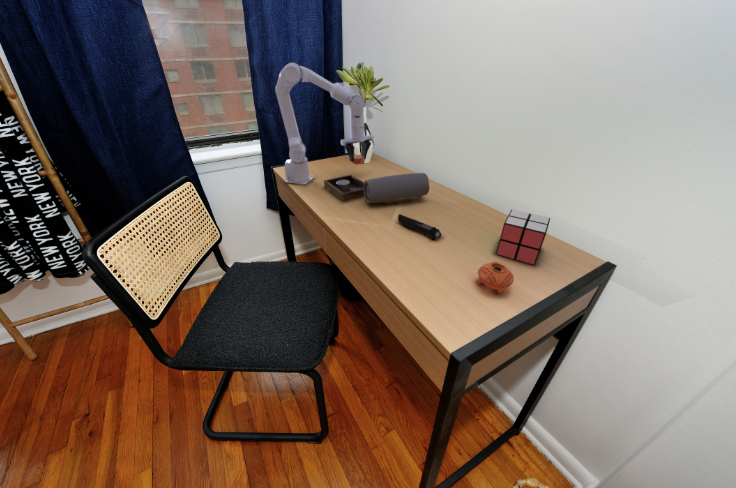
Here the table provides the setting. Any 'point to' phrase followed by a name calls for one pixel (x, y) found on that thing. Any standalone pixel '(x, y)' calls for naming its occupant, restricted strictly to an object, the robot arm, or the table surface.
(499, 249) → the puzzle cube
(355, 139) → the robot arm
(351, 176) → the dark brown tray
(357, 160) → the terracotta coaster
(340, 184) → the gray and black puck
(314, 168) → the table surface
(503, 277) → the pot
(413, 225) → the electric trimmer
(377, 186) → the bluetooth speaker
